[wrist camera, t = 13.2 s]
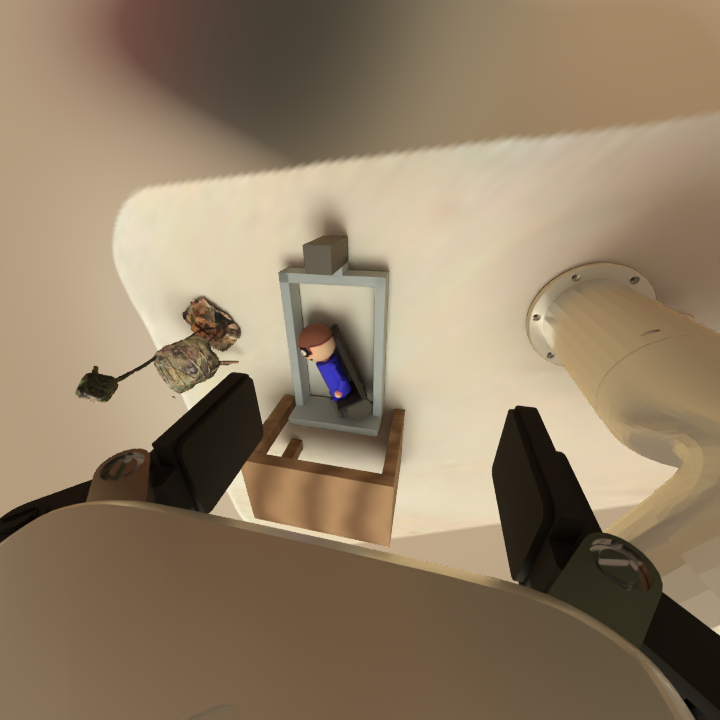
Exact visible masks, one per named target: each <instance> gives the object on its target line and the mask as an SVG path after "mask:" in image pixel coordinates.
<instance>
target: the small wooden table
mask: <svg viewBox="0 0 720 720" xmlns="http://www.w3.org/2000/svg"><path fill="white" fill-rule="evenodd" d="M295 407H296V400H295V396H291V395H284V397H283V398H282V399H281V401H280V402H279V403H278V405H277V406H276V408H275V409H274V410H273V412H272V413H271V414H270V416H269V417H268V418H267V420H266V421H265V422H264V424H263V425H262V426H263V431H264V432H263V437H262V439H261V441H260V442H259V444H258V445H257V447H256V448H255V450H254V451H253V453H252V454H251V455H250V457H249V458H248V460H247V461H246V463H245V464H244V465H243V467H242V468H241V470H242V474H243V478H244V481H245V485H246V488H247V492H248V496H249V499H250V503H251V506H252V510H253V514H254V517H255V518H257V519H262V520H266V521H271V522H276V523H280V524H285V525H290V526H294V527H299V528H304V529H308V530H313V531H318V532H322V533H327V534H332V535H336V536H341V537H346V538H350V539H355V540H360V541H364V542H369V543H374V544H378V545H383V546H388V547H389V546H390V540H391V532H392V525H393V517H394V509H395V502H396V494H397V487H398V479H399V472H400V464H401V452H402V439H403V427H404V415H405V410H400V409H395V410H394V415H393V420H392V425H391V430H390V436H389V441H388V446H387V451H386V456H385V462H384V467H383V472H382V474H379V473H373V472H367V471H361V470H355V469H349V468H343V467H337V466H332V465H326V464H320V463H314V462H308V461H302V460H297V459H298V457H299V455H300V453H301V451H302V449H303V445H302V440H295V439H291V441H290V443H289V445H288V446H287V448H286V450H285V451H284V453H283V455H282V457H279V456H273V455H267V452H268V451H269V449H270V447H271V446H272V444H273V443H274V441H275V440H276V438H277V436H278V435H279V433H280V432H281V430H282V429H283V427H284V426H285V424H286V422H287V421H288V417H289V416H290V414H291V413H292V411H293V410H294V408H295Z"/></svg>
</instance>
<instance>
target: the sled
mask: <svg viewBox="0 0 720 720" xmlns="http://www.w3.org/2000/svg"><path fill="white" fill-rule="evenodd" d="M303 254H304V264H305V268H294V267H288V268H286V269H284V270H282V271H280V272H278V273H279V281H280V288H281V296H282V303H283V311H284V318H285V326H286V333H287V340H288V348H289V355H290V363H291V370H292V378H293V385H294V393H295V400H296V407H295V408H294V410H293V411H292V413H291V414H290V416H289V417H288V419H289V424H293V425H300V426H307V427H314V428H320V429H327V430H334V431H341V432H348V433H354V434H361V435H368V436H375V437H377V436H378V432H379V428H380V424H381V420H382V415H383V411H384V388H385V361H386V335H387V309H388V283H389V272H386V271H363V270H348V236H322V237H320V238H318V239H315V240H313V241H310V242H308V243H306V244H303ZM298 283H304V284H322V285H341V286H359V287H375V322H374V381H373V403H370V404H371V412H370V414H369V415H368V416H367V417H366V418H364V419H354V418H352V417H350V415H349V414H348V411H347V408H346V409H344V410H342V413H343V419H342V418H340V417H338V415H337V413H336V411H335V409H334V408H333V406H332V404H331V402H330V400H329V399H330V398H327V397H319V396H311V395H310V389H309V379H308V370H307V360H306V358H305V357H304V356H303V355H302V354H301V352H300V350H299V348H298V337H299V335H300V333H301V331H302V330H303V322H302V312H301V303H300V293H299V284H298Z"/></svg>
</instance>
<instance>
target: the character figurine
mask: <svg viewBox="0 0 720 720" xmlns="http://www.w3.org/2000/svg"><path fill="white" fill-rule="evenodd" d="M332 328H333V332H332V331H331V330H330V329H329V328H328V327H326V326H325V325H322V324H311V325H309V326H307V327H305V328H304V329H303V330H302V331H301V333H300V335H299V337H298V348H299V350H300V352H301V354H302V355H303V356H304V357H305V358H307V359H308V360H311V361H316V362H317V363H316V365H317V367H318V369H319V371H320V373H321V375H322V377H323V379H324V381H325V382H326V384H327V386H328V388H329V390H330V394H331V396H332V397H331V398H330V399H329V400H330V402H331V404H332V406H333V408H334V409H335V411H336V413H337V415H338V417H340V418H342V419H343V413H342V410H344V409H346V408H347V411H348V414H349V415H350V417H352V418H354V419H364V418H366V417H367V416H368V415H369V414H370V412H371V404H370V401H369V400H368V399H367V394H366V391H365V389H364V386H363V383H362V379H361V376H360V374H359V372H358V370H357V368H356V366H355V364H354V361H353V359H352V357H351V355H350V353H349V351H348V349H347V346H346V344H345V342H344V340H343V338H342V336H341V333H340V331H339V329H338V327H337V325H336V324H335V325H333V326H332ZM335 346H337V348H338V350H339V352H340V354H341V356H342V358H343V360H344V362H345V365H346V367H347V369H348V371H349V373H350V375H351V377H352V379H353V380H352V381H350V382H349V380H348V377H347V375H346V373H345V371H344V369H343V367H342V365H341V363H340V361H339V359H338V357H337V355H336V354H335V353H333V352H334V349H335Z"/></svg>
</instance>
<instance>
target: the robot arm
mask: <svg viewBox="0 0 720 720" xmlns="http://www.w3.org/2000/svg"><path fill="white" fill-rule="evenodd" d="M575 274H576V276H575V277H574V278H572V277H573V276H574V275H575ZM631 278H632V279H631ZM630 279H631V280H630ZM535 314H537V316H535V317H534V315H535ZM526 329H527V335H528V338H529V341H530V343H531V344H532V346H533V348H534V349H535V350H536V352H537V353H538V354H539V355H540V356H541V357H543V358H544V359H545V360H547V361H549V362H551V363H553V364H555V365H559V366H563V367H565V369H566V370H567V372H568V373H569V374H570V376H571V377H572V379H573V380H574V381H575V383H576V384H577V386H578V387H579V389H580V390H581V391H582V393H583V394H584V396H585V397H586V398H587V400H588V401H589V403H590V404H591V406H592V407H593V408H594V410H595V411H596V413H597V414H598V415H599V417H600V418H601V419H602V421H603V422H604V424H605V425H606V426H607V428H608V429H609V430H610V432H611V433H612V434H613V435H614V436H615V437H616V438H617V439H618V440H619V441H620V442H621V443H622V444H623V445H625V446H626V447H628V448H629V449H631V450H632V451H634V452H636V453H637V454H639V455H641V456H644V457H646V458H648V459H651V460H654V461H657V462H659V463H662V464H666V465H669V466H673V467H677V468H679V469H678V470H677V472H676V473H675V474H674V475H673V476H672V477H671V478H670V479H669V480H668V481H666V482H665V483H664V484H663V485H661V486H660V487H659V488H658V489H656V490H655V491H654V493H653V494H652V495H651V496H649V497H648V498H647V499H645V500H644V501H643V502H641V503H640V504H639V505H637V506H636V507H635V508H633V509H632V510H631V511H630V512H628V513H627V514H625V515H624V516H623V517H622V518H620V519H619V520H618V521H616V522H615V523H614V524H612V525H611V526H610V527H608V529H607V530H605V531H604V532H602V531H601V528H600V527H599V524H598V522H597V520H596V518H595V516H594V514H593V512H592V509H591V507H590V505H589V503H588V501H587V499H586V497H585V495H584V493H583V491H582V489H581V487H580V484H579V482H578V480H577V478H576V476H575V474H574V472H573V470H572V468H571V466H570V464H569V461H568V459H567V457H566V456H565V454H563V453H562V452H558V451H556V450H555V448H554V445H553V443H552V441H551V439H550V436H549V434H548V432H547V430H546V428H545V425H544V423H543V421H542V419H541V416H540V414H539V412H538V410H537V408H534V407H525V406H516V407H515V409H509V411H508V414H507V417H506V421H505V424H504V428H503V431H502V435H501V438H500V442H499V445H498V449H497V452H496V456H495V459H494V463H493V467H492V478H493V483H494V488H495V494H496V499H497V504H498V510H499V515H500V520H501V525H502V531H503V536H504V540H505V546H506V552H507V557H508V562H509V567H510V573H511V577H512V579H513V580H514V581H518V582H519V585H518V584H515V583H511V582H508V581H504V580H501V579H498V578H494V577H489V576H486V575H481V574H477V573H473V572H469V571H465V570H461V569H456V568H452V567H448V566H444V565H440V564H436V563H431V562H427V561H422V560H418V559H413V558H409V557H404V556H400V555H395V554H391V553H387V552H382V551H377V550H373V549H369V548H364V547H360V546H355V545H351V544H346V543H342V542H337V541H333V540H328V539H323V538H319V537H314V536H310V535H305V534H300V533H296V532H291V531H287V530H282V529H277V528H273V527H268V526H264V525H259V524H254V523H249V522H245V521H240V520H235V519H231V518H226V517H221V516H216V515H212V514H208V513H210V512H211V511H212V510H213V508H214V507H215V506H216V504H217V503H218V501H219V500H220V498H221V496H223V494H224V493H225V491H226V490H227V488H228V487H229V486H230V484H231V483H232V481H233V480H234V478H235V477H236V475H237V474H238V473H239V471H240V470H241V468H242V467H243V465H244V464H245V463H246V461H247V460H248V458H249V457H250V455H251V454H252V453H253V451H254V450H255V448H256V447H257V445H258V444H259V442H260V441H261V439H262V437H263V432H264V431H263V426H262V421H261V416H260V411H259V406H258V402H257V397H256V392H255V387H254V383H253V380H252V378H250V377H249V375H248V374H244V373H236V372H232V373H230V374H229V375H228V376H227V377H226V378H225V379H223V380H222V381H221V382H220V383H219V384H218V385H217V386H216V387H215V388H213V389H212V390H211V391H210V392H209V393H208V394H207V395H206V396H205V397H203V398H202V399H201V400H200V401H199V402H198V403H197V404H196V405H195V406H193V407H192V408H191V409H190V410H189V411H188V412H187V413H186V414H185V415H183V416H182V417H181V418H180V419H179V420H178V421H177V422H176V423H175V424H173V425H172V426H171V427H170V428H169V429H168V430H167V431H166V432H164V434H162V435H161V436H160V437H159V438H158V439H157V440H156V441H155V442H153V443H152V446H153V448H154V449H153V450H152V451H151V452H150V453H149V452H148V451H147V450H144V449H130V450H126V451H123V452H120V453H117V454H116V455H114V456H112V457H110V458H108V459H107V460H106V461H104V462H103V463H102V464H101V465H100V466H99V467H98V468H97V469H96V472H95V473H94V476H93V479H92V480H90V481H87V482H84V483H81V484H79V485H76V486H73V487H70V488H67V489H65V490H62V491H59V492H56V493H53V494H51V495H48V496H45V497H42V498H40V499H37V500H34V501H31V502H29V503H26V504H24V505H22V506H19V507H17V508H15V509H13V510H11V511H10V512H8V513H7V514H5V515H4V516H3V517H1V518H0V720H720V334H719V333H717V332H715V331H713V330H711V329H710V328H708V327H706V326H704V325H702V324H700V323H698V322H696V321H694V318H693V316H692V315H683V314H681V313H679V312H677V311H675V310H673V309H671V308H669V307H667V306H665V305H663V304H661V303H659V302H657V297H656V293H655V290H654V288H653V286H652V285H651V283H650V282H649V281H648V280H647V279H646V278H645V277H644V276H643V275H642V274H640V273H639V272H637V271H635V270H634V269H631V268H629V267H626V266H623V265H619V264H614V263H595V264H587V265H584V266H580V267H577V268H574V269H572V270H570V271H567V272H565V273H563V274H561V275H560V276H558V277H557V278H555V279H554V280H552V281H551V282H550V283H549V284H548V285H547V286H545V287H544V288H543V289H542V290H541V292H540V293H539V294H538V295H537V297H536V298H535V300H534V301H533V303H532V305H531V307H530V309H529V312H528V315H527V322H526ZM549 352H550V353H549ZM548 353H549V354H548Z"/></svg>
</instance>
